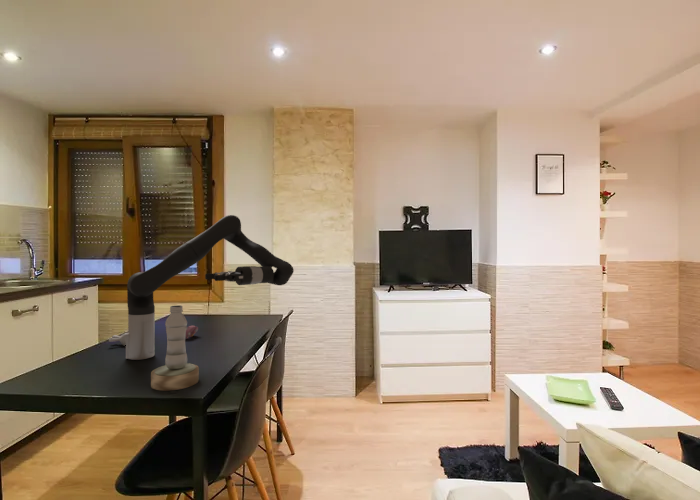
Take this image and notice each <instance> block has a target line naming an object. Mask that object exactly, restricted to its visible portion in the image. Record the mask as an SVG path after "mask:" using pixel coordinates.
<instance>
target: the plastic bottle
mask: <svg viewBox="0 0 700 500" xmlns="http://www.w3.org/2000/svg"><path fill="white" fill-rule="evenodd" d="M169 307H170V308H169V313H170V314H169V316H168V317H167V318H166V320H165V322H164V324H165V332H166V340H167V343H166V355H165V359H164V361H165V362H164V364H165V365H166V367H167V368H168V369H180V368H183V367H185V366H186V364H187V363H188V354H187V351H186V350H187V349H186V348H187V347H186V338H185V335H186V328H187V327H188V326H187V325H188V321H187V319H186V317H185V315H184V314H183V312H184V308H183V305H182V304H181V305H170V306H169Z"/></svg>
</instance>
